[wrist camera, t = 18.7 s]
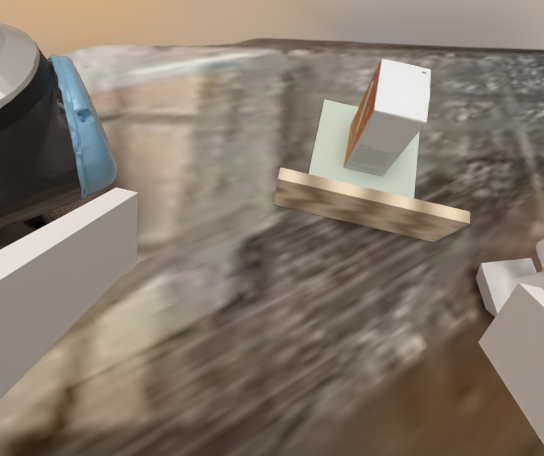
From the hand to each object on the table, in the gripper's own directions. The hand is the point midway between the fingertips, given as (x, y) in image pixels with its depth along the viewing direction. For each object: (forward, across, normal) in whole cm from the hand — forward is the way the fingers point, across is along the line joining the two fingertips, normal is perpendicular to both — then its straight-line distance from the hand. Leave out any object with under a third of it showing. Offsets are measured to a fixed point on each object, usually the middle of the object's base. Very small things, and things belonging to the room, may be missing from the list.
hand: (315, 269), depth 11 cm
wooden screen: (+34, +9, -11) cm, 37 cm away
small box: (+41, +9, -2) cm, 42 cm away
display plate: (+42, +9, -3) cm, 43 cm away
